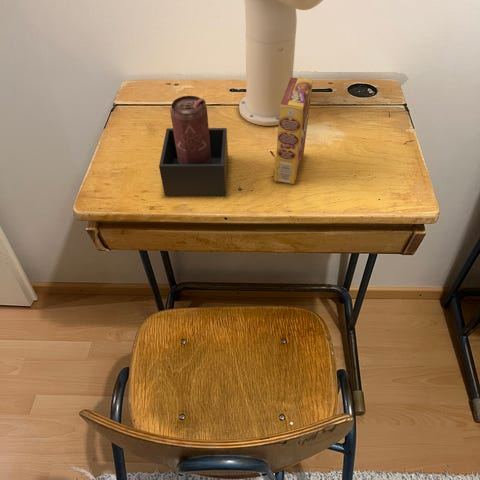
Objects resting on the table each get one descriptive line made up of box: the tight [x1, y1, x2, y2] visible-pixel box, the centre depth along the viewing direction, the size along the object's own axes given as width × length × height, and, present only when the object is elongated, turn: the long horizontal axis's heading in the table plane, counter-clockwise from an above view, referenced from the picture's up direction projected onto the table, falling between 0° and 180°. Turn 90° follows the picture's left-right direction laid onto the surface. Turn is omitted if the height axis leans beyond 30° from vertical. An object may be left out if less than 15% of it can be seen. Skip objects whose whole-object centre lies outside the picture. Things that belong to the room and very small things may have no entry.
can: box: [169, 95, 212, 164], centre depth 82 cm, size 6×6×14 cm
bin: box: [158, 127, 229, 197], centre depth 85 cm, size 11×11×7 cm
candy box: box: [273, 77, 314, 185], centre depth 82 cm, size 9×4×15 cm, turn 165°
